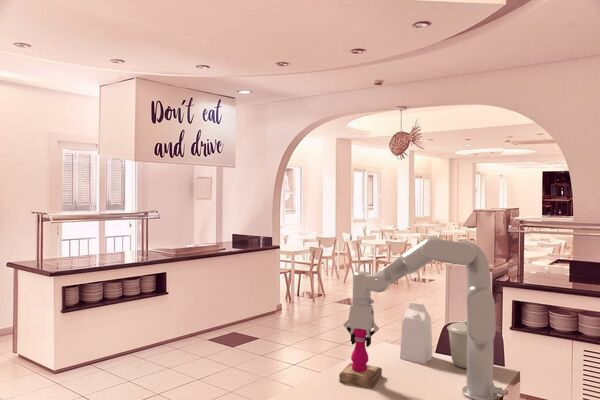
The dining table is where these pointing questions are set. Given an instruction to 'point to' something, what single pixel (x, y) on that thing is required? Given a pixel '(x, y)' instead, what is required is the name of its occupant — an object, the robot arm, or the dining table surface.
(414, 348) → the milk
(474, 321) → the robot arm
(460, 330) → the canister
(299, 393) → the dining table surface
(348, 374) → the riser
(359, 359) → the pepper mill
